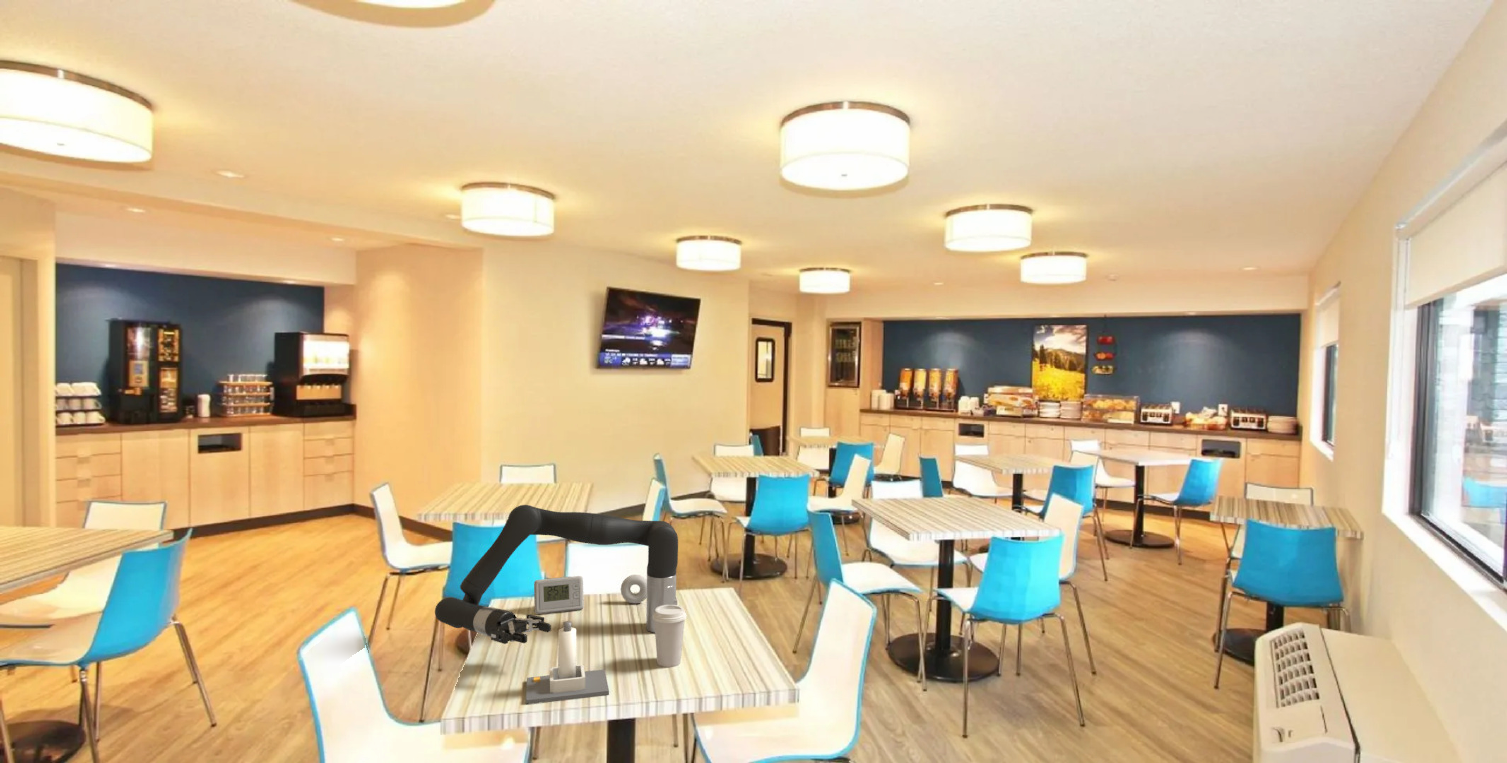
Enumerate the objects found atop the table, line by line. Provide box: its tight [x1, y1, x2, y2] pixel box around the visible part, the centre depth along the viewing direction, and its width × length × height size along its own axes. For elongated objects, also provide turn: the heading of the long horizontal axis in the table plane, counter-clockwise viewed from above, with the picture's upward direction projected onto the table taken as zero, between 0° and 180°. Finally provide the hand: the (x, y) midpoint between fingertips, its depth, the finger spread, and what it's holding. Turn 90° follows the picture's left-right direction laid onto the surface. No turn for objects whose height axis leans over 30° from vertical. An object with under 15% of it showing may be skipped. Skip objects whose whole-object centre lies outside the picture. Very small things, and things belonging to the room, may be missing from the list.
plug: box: [557, 620, 577, 679], centre depth 186 cm, size 4×4×16 cm
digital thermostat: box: [533, 575, 585, 615], centre depth 243 cm, size 16×9×11 cm, turn 100°
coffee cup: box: [652, 604, 687, 668], centre depth 203 cm, size 10×10×15 cm
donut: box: [620, 574, 647, 605], centre depth 251 cm, size 10×4×10 cm, turn 94°
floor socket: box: [525, 664, 610, 704], centre depth 186 cm, size 20×13×4 cm, turn 107°
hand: (538, 633), depth 192 cm, fingers open, 8 cm apart
